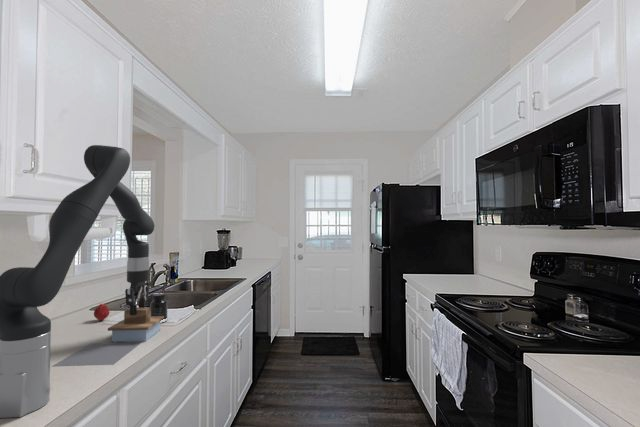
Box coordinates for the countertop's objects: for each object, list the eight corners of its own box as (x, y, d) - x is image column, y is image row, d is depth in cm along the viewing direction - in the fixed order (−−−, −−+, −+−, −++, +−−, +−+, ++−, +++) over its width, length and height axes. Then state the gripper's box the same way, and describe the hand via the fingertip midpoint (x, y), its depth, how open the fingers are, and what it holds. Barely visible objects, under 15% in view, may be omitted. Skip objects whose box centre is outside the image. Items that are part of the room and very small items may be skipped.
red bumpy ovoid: (112, 319, 146) (112, 301, 146) (100, 323, 140) (101, 304, 140) (102, 318, 147) (102, 300, 147) (90, 322, 142) (90, 303, 142)
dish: (146, 342, 118) (146, 328, 118) (112, 343, 117) (112, 329, 117) (160, 331, 130) (160, 318, 130) (129, 332, 129) (129, 319, 129)
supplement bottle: (170, 319, 145) (170, 293, 145) (160, 324, 138) (160, 296, 139) (157, 319, 146) (157, 292, 147) (146, 323, 140) (146, 295, 140)
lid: (147, 329, 117) (147, 313, 117) (107, 330, 116) (107, 314, 116) (163, 318, 131) (163, 303, 131) (128, 318, 130) (128, 304, 130)
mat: (113, 366, 99) (113, 364, 99) (51, 367, 98) (51, 366, 98) (141, 343, 117) (141, 342, 117) (90, 345, 116) (90, 343, 116)
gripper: (139, 271, 117) (138, 318, 117) (156, 266, 132) (156, 307, 131) (117, 271, 117) (117, 318, 116) (137, 266, 131) (136, 307, 131)
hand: (137, 312), depth 124 cm, fingers open, 6 cm apart
